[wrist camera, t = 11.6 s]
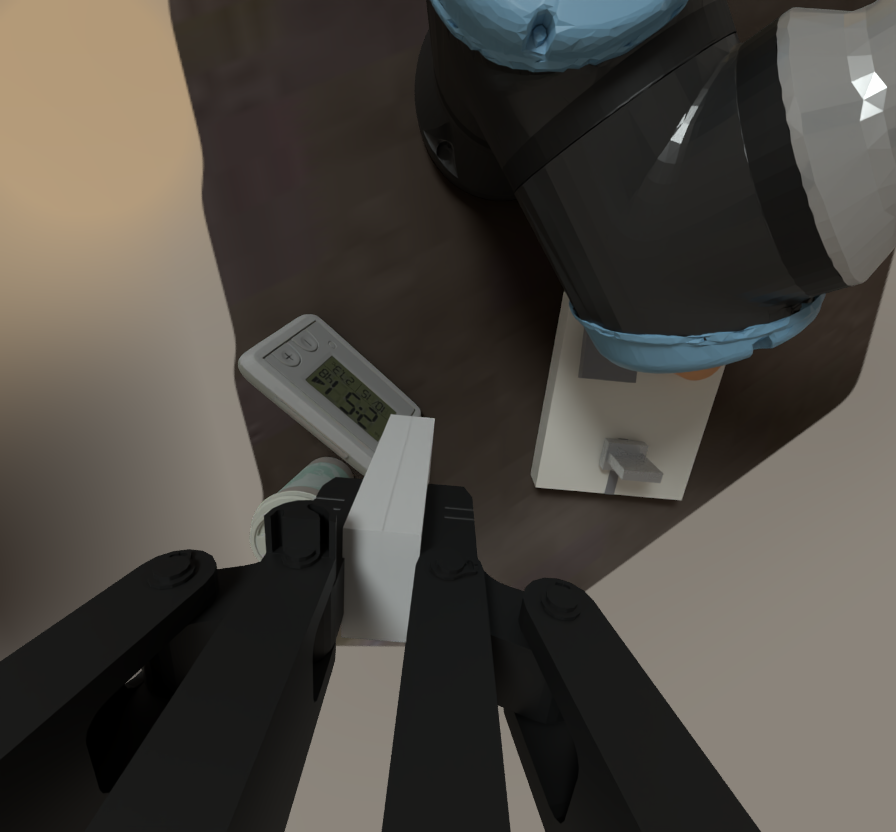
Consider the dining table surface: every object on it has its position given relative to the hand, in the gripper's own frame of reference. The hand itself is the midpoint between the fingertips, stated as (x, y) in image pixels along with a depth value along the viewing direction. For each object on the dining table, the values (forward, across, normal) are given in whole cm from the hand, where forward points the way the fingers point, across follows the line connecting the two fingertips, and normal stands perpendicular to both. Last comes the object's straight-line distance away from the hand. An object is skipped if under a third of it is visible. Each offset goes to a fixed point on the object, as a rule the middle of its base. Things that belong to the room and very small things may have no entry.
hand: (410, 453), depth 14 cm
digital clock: (+30, -8, -6) cm, 31 cm away
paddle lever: (+26, +20, -10) cm, 34 cm away
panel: (+29, +20, -4) cm, 36 cm away
